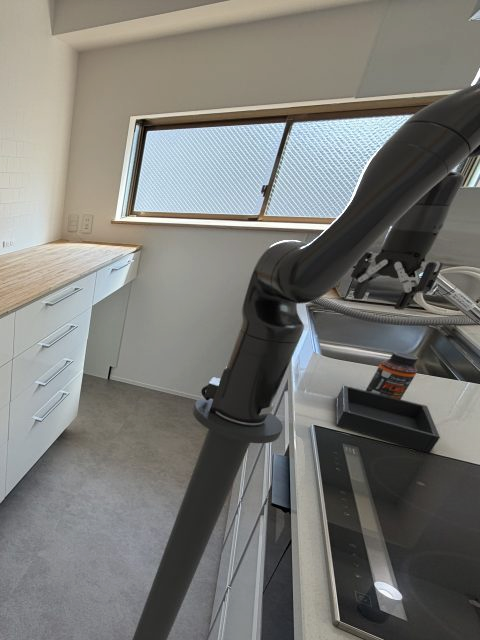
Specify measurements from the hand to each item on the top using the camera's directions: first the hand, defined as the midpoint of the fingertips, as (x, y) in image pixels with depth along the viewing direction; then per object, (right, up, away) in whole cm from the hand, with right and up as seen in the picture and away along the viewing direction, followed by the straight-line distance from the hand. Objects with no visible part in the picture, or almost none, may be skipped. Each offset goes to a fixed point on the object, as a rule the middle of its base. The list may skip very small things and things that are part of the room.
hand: (377, 303), depth 93 cm
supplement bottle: (+1, -22, +1) cm, 22 cm away
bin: (-9, -26, -9) cm, 29 cm away
